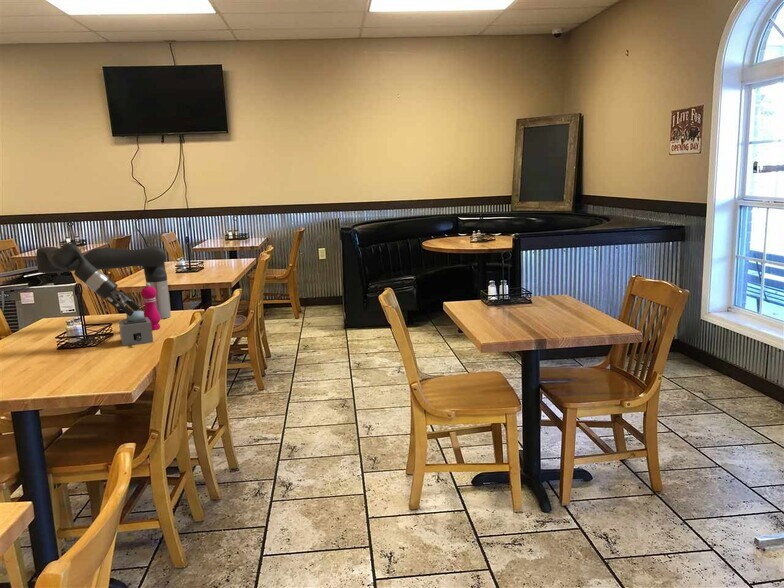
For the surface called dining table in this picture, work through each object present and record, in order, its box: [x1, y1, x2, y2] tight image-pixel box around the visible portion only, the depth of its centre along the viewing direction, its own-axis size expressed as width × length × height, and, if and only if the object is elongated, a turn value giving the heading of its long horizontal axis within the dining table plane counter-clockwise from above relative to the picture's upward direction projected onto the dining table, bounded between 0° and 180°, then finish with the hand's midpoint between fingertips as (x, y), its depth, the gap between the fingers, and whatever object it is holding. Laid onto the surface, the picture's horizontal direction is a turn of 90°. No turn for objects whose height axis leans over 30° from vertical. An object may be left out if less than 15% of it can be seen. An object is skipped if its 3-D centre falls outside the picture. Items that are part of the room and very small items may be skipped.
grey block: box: [118, 317, 154, 347], centre depth 250 cm, size 11×11×9 cm
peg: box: [125, 310, 145, 339], centre depth 250 cm, size 6×6×11 cm
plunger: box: [134, 333, 141, 342], centre depth 245 cm, size 8×2×2 cm, turn 27°
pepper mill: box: [140, 283, 161, 331], centre depth 268 cm, size 7×7×20 cm
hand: (135, 311), depth 248 cm, fingers open, 8 cm apart
